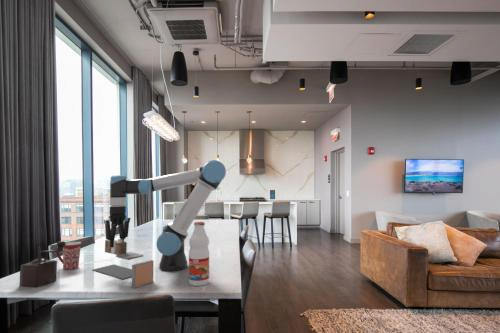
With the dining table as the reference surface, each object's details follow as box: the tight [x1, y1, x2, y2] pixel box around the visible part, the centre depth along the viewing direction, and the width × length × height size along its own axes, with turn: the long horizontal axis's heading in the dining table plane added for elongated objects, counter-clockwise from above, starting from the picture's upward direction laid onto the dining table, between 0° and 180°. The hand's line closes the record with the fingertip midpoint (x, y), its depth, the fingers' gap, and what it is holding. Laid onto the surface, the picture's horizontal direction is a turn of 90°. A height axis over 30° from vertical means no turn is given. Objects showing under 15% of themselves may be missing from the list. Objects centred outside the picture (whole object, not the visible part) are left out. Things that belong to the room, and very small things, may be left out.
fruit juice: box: [188, 221, 210, 287], centre depth 137 cm, size 9×9×28 cm
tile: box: [131, 259, 154, 289], centre depth 134 cm, size 10×2×10 cm, turn 146°
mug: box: [55, 241, 82, 271], centre depth 162 cm, size 13×9×14 cm
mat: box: [92, 263, 132, 281], centre depth 154 cm, size 12×28×1 cm, turn 56°
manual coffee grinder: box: [18, 240, 67, 288], centre depth 140 cm, size 16×11×18 cm
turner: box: [104, 239, 144, 261], centre depth 144 cm, size 24×8×6 cm, turn 56°
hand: (116, 252), depth 146 cm, fingers closed on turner, 3 cm apart
